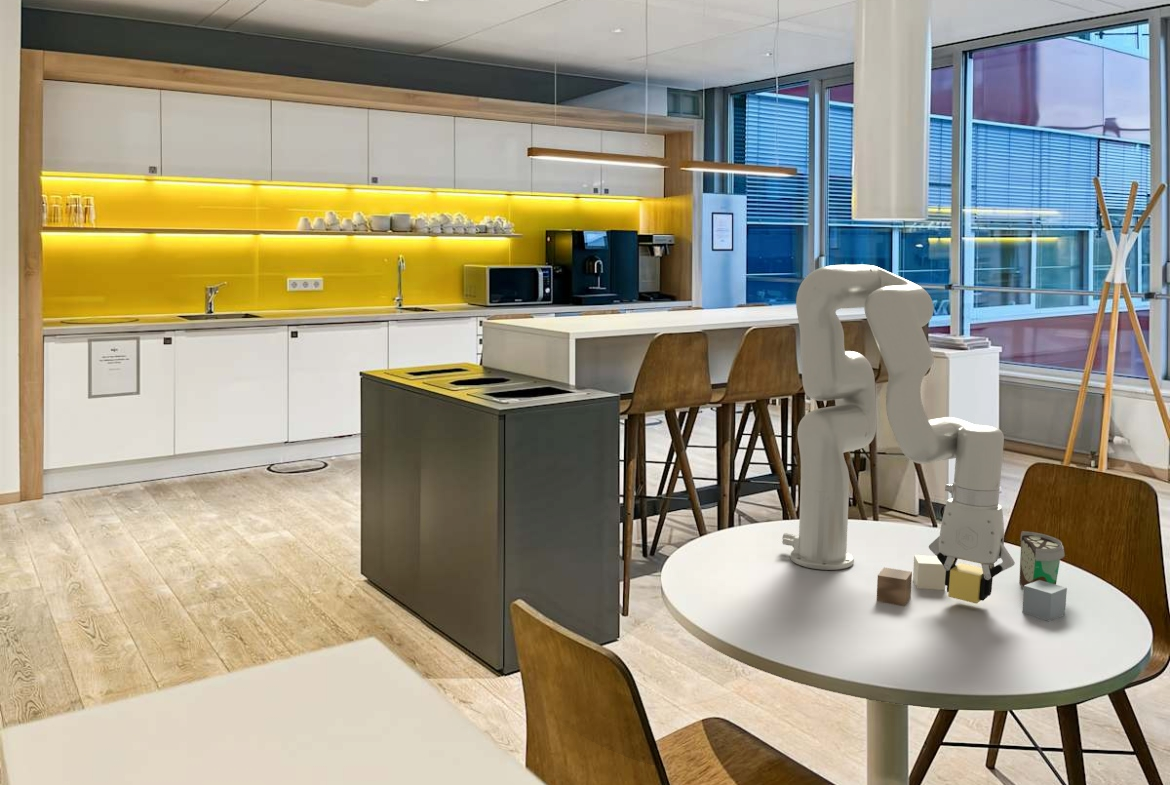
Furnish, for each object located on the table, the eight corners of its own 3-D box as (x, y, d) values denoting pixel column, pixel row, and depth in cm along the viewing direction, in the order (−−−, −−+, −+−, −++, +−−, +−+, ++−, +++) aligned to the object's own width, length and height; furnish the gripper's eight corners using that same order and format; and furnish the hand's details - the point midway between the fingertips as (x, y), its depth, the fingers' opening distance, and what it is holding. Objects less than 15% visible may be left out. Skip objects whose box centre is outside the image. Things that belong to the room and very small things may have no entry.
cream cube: (917, 588, 185) (918, 563, 184) (912, 579, 190) (914, 554, 189) (945, 590, 184) (946, 564, 183) (939, 581, 189) (941, 556, 188)
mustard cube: (948, 596, 175) (950, 569, 174) (957, 589, 179) (960, 562, 178) (976, 603, 172) (979, 576, 171) (986, 595, 176) (988, 569, 175)
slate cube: (1022, 612, 173) (1023, 585, 172) (1037, 606, 176) (1039, 579, 175) (1049, 621, 169) (1051, 593, 168) (1064, 615, 172) (1066, 587, 171)
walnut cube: (876, 601, 178) (877, 575, 177) (882, 593, 182) (884, 567, 182) (904, 606, 176) (906, 579, 175) (910, 598, 180) (911, 571, 179)
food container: (1069, 605, 176) (1073, 551, 174) (1032, 603, 177) (1036, 549, 176) (1051, 583, 188) (1055, 532, 186) (1017, 580, 189) (1020, 530, 188)
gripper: (919, 491, 175) (912, 588, 178) (1020, 509, 164) (1010, 612, 167) (935, 483, 181) (927, 577, 184) (1033, 500, 170) (1023, 600, 173)
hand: (967, 593), depth 175 cm, fingers closed on mustard cube, 5 cm apart
